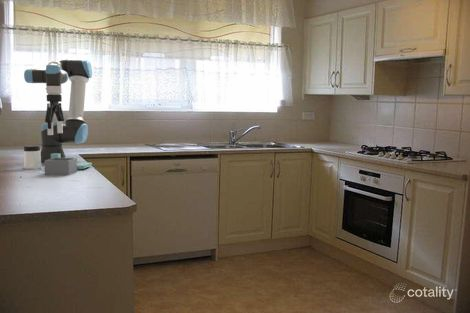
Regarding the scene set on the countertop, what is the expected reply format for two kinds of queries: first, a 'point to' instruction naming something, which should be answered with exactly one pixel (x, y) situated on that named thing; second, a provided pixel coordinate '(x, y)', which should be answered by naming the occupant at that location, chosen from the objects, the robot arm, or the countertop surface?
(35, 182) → the countertop surface
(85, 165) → the teal t-shaped block
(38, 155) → the jar
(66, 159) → the tub
